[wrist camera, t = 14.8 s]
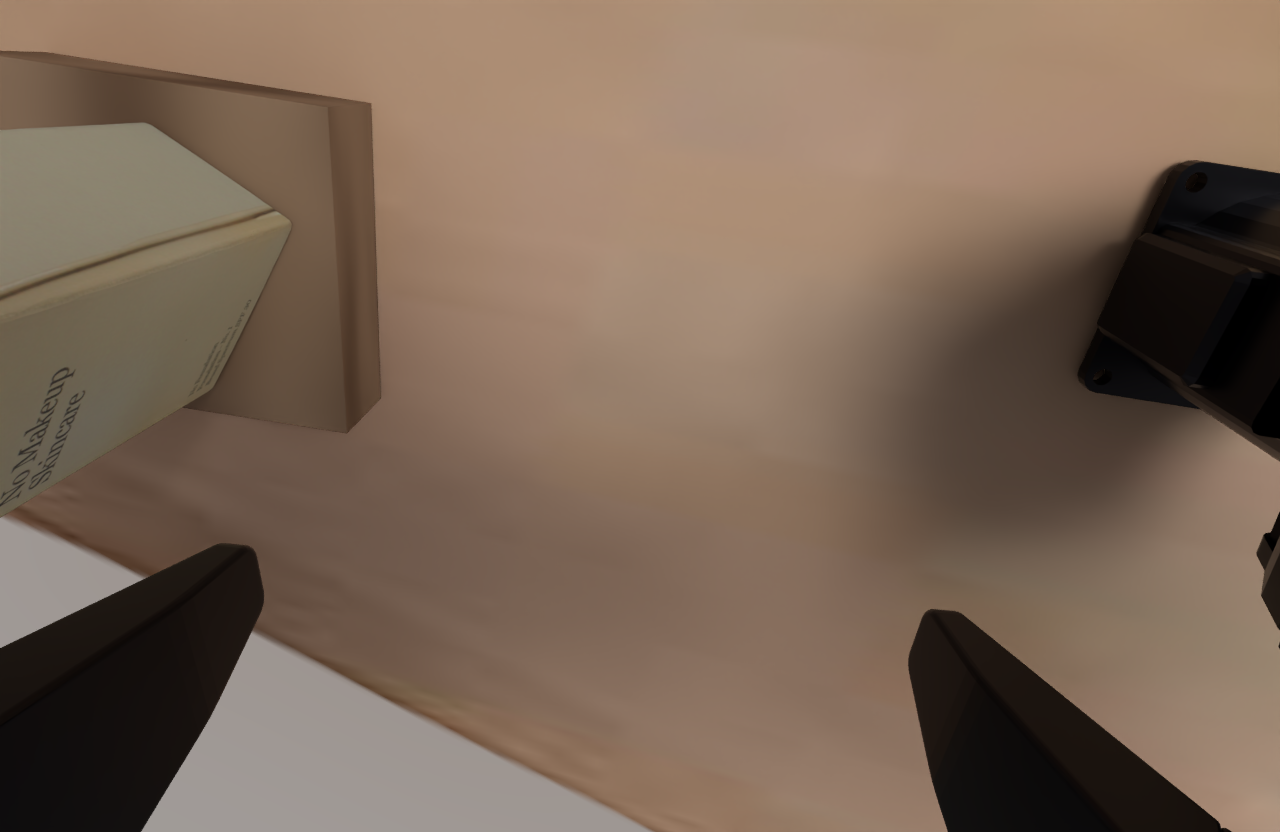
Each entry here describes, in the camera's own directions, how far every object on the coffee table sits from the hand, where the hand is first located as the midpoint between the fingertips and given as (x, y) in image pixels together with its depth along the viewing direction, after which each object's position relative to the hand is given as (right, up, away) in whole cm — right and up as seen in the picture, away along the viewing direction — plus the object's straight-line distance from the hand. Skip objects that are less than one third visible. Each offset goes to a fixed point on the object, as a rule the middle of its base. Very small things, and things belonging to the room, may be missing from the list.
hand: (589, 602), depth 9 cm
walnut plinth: (-12, +8, +12) cm, 18 cm away
